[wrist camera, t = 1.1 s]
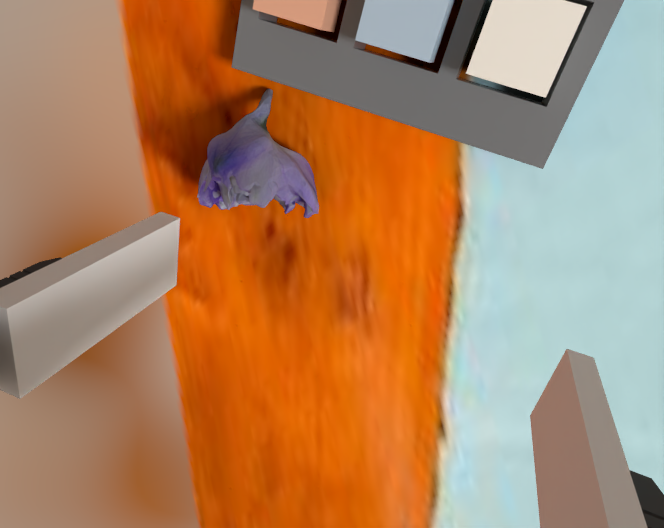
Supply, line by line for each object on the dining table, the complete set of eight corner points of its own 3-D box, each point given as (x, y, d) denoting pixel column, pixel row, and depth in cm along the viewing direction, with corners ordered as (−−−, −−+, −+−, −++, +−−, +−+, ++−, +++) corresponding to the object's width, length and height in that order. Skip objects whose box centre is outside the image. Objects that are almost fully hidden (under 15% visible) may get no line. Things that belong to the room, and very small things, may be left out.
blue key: (387, -41, 27) (378, -50, 25) (461, -21, 26) (458, -28, 24) (365, 41, 29) (354, 40, 27) (433, 62, 28) (428, 62, 26)
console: (285, -140, 29) (265, -160, 26) (638, -53, 25) (656, -66, 23) (251, 66, 34) (231, 67, 31) (538, 159, 31) (542, 168, 28)
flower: (159, 69, 29) (181, 224, 28) (296, 49, 30) (324, 200, 28) (196, 132, 38) (214, 250, 37) (300, 116, 39) (321, 232, 37)
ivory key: (498, -11, 26) (499, -18, 24) (578, 11, 25) (587, 6, 23) (467, 72, 28) (465, 73, 26) (540, 94, 27) (545, 97, 25)
